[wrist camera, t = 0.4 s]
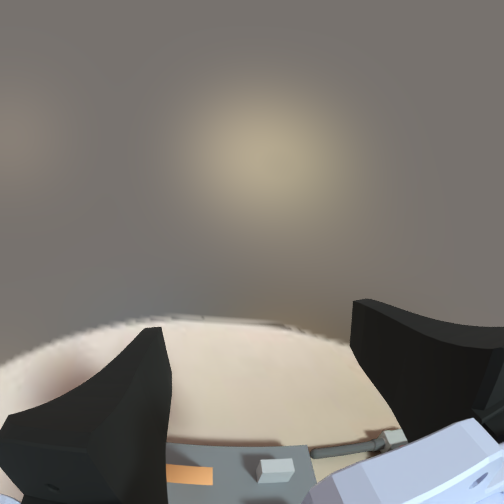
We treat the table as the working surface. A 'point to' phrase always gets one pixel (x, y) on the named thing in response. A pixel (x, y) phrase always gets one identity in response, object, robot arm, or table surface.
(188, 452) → the power strip
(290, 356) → the table surface
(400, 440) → the walkie-talkie
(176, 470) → the orange rectangular block
